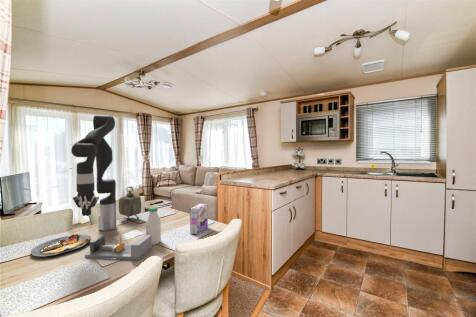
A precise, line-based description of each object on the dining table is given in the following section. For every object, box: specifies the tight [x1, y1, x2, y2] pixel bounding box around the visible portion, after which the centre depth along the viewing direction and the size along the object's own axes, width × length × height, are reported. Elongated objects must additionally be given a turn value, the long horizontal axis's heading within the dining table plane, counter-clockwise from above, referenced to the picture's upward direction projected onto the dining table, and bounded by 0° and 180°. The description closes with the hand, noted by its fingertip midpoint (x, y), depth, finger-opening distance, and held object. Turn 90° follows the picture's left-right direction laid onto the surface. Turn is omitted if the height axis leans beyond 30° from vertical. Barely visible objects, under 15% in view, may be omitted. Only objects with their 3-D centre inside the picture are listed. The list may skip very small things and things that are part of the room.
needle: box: [116, 233, 126, 252], centre depth 108 cm, size 1×5×8 cm, turn 174°
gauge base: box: [84, 234, 153, 262], centre depth 108 cm, size 28×12×8 cm, turn 84°
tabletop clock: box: [118, 186, 142, 221], centre depth 160 cm, size 14×9×25 cm, turn 66°
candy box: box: [189, 203, 209, 235], centre depth 138 cm, size 14×6×16 cm, turn 161°
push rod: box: [89, 235, 120, 252], centre depth 109 cm, size 12×8×5 cm, turn 84°
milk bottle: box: [145, 206, 162, 246], centre depth 120 cm, size 8×8×20 cm
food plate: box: [30, 234, 92, 257], centre depth 115 cm, size 25×23×4 cm
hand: (86, 215), depth 109 cm, fingers closed
